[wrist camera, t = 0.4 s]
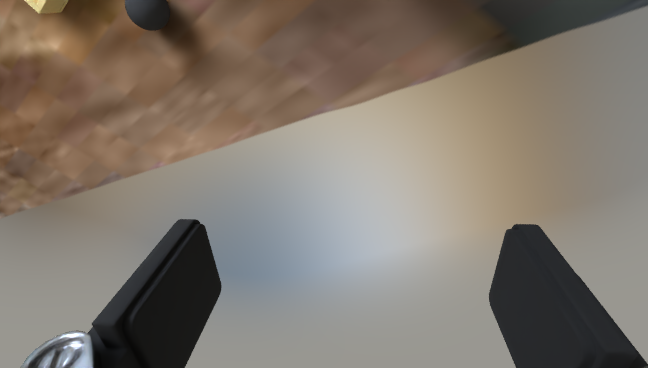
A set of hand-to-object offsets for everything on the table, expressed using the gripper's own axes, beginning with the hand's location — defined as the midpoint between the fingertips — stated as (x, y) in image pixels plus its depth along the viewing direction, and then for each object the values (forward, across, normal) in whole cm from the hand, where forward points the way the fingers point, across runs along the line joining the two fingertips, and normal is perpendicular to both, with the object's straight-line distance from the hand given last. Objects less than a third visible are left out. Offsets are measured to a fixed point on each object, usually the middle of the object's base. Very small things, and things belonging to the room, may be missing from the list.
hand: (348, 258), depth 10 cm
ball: (+28, +21, -8) cm, 35 cm away
